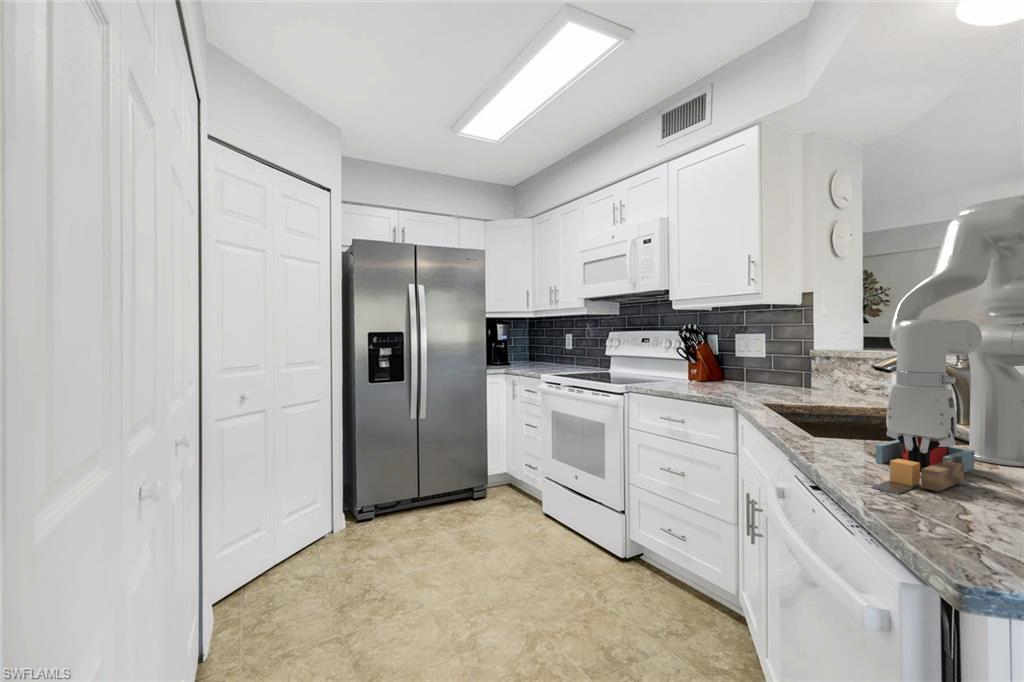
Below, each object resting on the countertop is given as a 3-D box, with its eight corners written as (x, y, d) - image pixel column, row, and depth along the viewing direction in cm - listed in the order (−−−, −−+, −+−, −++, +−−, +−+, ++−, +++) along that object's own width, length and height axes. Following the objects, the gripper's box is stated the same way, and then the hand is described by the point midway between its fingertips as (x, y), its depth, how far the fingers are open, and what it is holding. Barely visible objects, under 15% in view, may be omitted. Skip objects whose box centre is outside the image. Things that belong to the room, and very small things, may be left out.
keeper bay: (901, 454, 112) (901, 438, 112) (974, 468, 101) (974, 450, 101) (875, 462, 106) (876, 445, 105) (950, 478, 94) (950, 458, 94)
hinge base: (946, 477, 94) (946, 476, 94) (972, 483, 91) (972, 481, 91) (938, 480, 92) (938, 479, 92) (964, 486, 89) (964, 485, 89)
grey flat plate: (895, 479, 93) (895, 478, 93) (920, 485, 90) (920, 484, 90) (872, 487, 88) (872, 486, 88) (897, 494, 85) (897, 492, 85)
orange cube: (897, 478, 93) (898, 458, 93) (919, 483, 90) (920, 462, 90) (889, 481, 91) (890, 460, 91) (911, 486, 88) (912, 465, 88)
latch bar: (948, 476, 93) (949, 454, 93) (965, 480, 91) (965, 457, 91) (921, 487, 87) (921, 463, 87) (938, 491, 85) (938, 466, 85)
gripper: (977, 383, 89) (975, 477, 89) (885, 376, 102) (883, 459, 102) (962, 385, 85) (960, 484, 85) (868, 378, 98) (866, 463, 98)
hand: (918, 470), depth 94 cm, fingers closed
